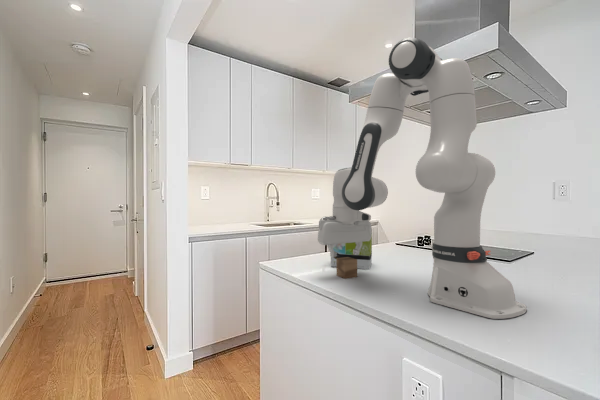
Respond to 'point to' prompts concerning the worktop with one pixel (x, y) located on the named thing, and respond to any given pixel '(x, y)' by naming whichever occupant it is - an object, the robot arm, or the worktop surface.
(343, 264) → the walnut block
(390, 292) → the worktop surface
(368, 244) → the tea box
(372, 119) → the robot arm
